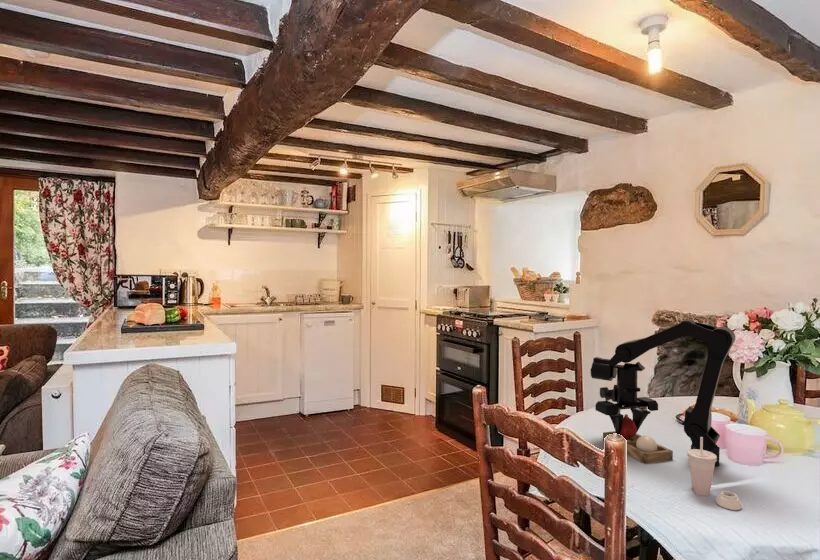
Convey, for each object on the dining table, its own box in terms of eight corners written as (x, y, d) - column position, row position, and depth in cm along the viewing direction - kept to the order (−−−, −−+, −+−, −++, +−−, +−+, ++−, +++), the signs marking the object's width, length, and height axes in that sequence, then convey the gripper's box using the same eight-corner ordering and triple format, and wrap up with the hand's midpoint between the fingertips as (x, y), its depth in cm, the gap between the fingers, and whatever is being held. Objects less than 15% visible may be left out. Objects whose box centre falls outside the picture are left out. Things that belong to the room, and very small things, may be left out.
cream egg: (661, 457, 139) (662, 438, 138) (645, 459, 137) (645, 440, 137) (647, 450, 144) (647, 431, 144) (631, 452, 142) (631, 433, 142)
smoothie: (683, 492, 120) (684, 436, 119) (689, 483, 125) (690, 430, 124) (713, 501, 115) (714, 443, 115) (718, 491, 120) (719, 436, 120)
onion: (639, 443, 146) (640, 417, 145) (620, 443, 146) (620, 417, 146) (631, 436, 151) (631, 411, 151) (613, 436, 152) (613, 411, 151)
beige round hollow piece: (711, 501, 116) (726, 512, 111) (711, 489, 116) (727, 499, 111) (730, 500, 116) (746, 510, 111) (730, 488, 116) (747, 498, 111)
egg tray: (672, 463, 137) (672, 450, 137) (644, 466, 135) (644, 454, 135) (628, 440, 155) (628, 429, 154) (602, 443, 152) (603, 432, 152)
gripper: (633, 375, 158) (633, 422, 159) (584, 379, 153) (584, 427, 154) (659, 383, 147) (659, 433, 148) (607, 388, 142) (607, 440, 143)
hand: (626, 433), depth 148 cm, fingers closed on onion, 6 cm apart
